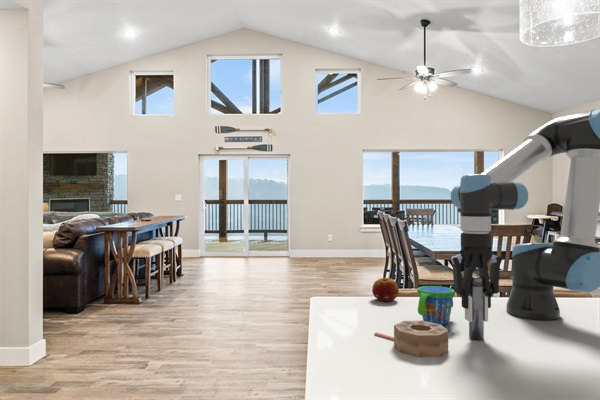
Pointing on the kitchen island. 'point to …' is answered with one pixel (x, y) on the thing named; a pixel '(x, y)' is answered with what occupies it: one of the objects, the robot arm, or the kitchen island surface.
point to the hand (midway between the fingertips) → (476, 320)
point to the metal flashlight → (477, 308)
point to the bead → (421, 338)
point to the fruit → (385, 289)
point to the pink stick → (384, 336)
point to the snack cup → (435, 304)
